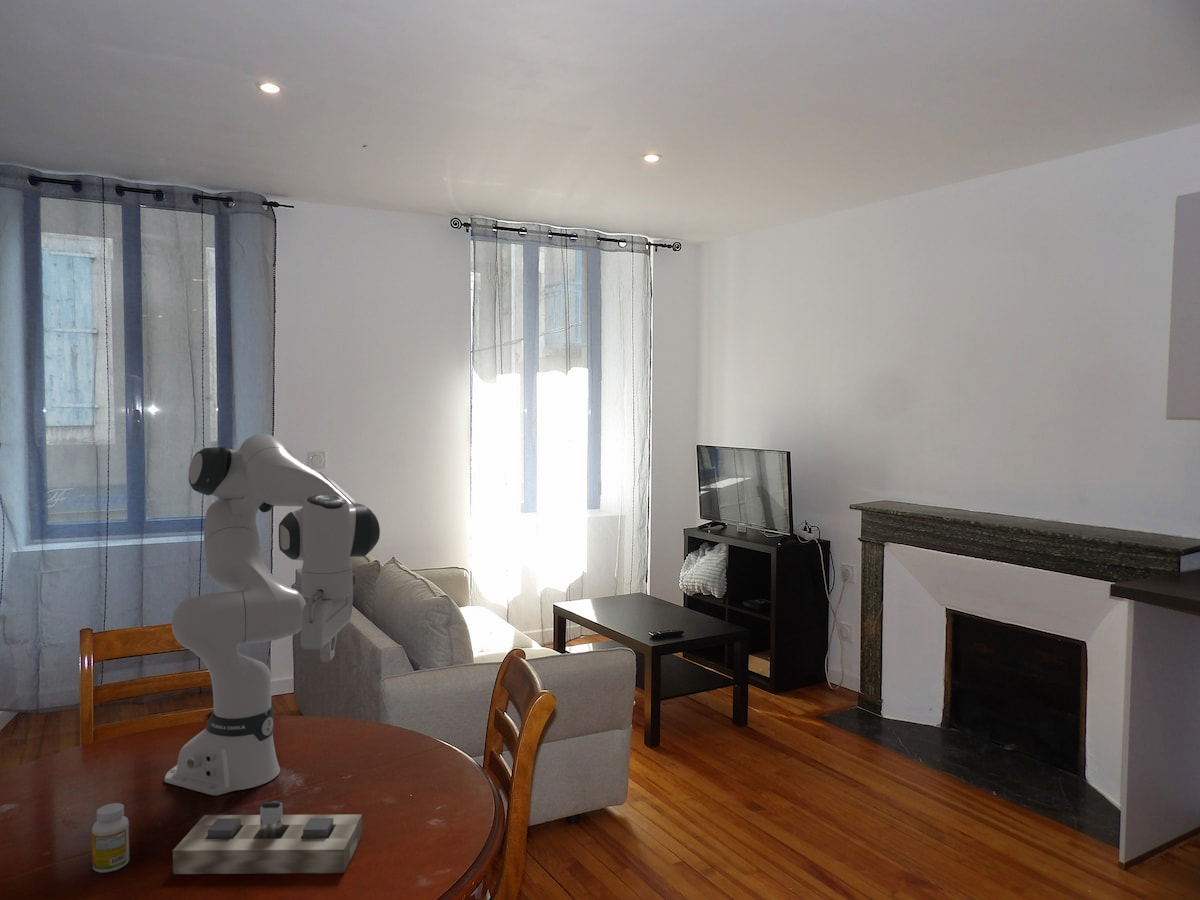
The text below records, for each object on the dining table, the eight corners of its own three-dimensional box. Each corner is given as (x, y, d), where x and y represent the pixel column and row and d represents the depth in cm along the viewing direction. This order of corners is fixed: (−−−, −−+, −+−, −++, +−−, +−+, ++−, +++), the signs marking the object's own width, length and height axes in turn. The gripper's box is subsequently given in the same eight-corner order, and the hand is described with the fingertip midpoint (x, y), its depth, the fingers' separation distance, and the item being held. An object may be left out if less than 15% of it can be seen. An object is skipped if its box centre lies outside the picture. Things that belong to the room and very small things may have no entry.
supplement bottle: (102, 856, 144) (101, 801, 144) (135, 855, 145) (134, 800, 144) (86, 874, 139) (85, 816, 138) (120, 873, 139) (119, 815, 139)
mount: (173, 874, 139) (172, 850, 139) (204, 836, 151) (204, 815, 151) (344, 872, 140) (344, 849, 140) (362, 836, 152) (362, 814, 152)
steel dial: (257, 839, 144) (256, 807, 143) (264, 829, 147) (264, 798, 147) (278, 839, 144) (278, 807, 144) (285, 829, 147) (285, 797, 147)
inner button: (208, 858, 143) (207, 830, 143) (217, 846, 147) (217, 818, 147) (231, 858, 144) (231, 830, 143) (241, 846, 148) (240, 818, 147)
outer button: (303, 858, 144) (303, 829, 144) (310, 845, 148) (310, 818, 148) (326, 858, 144) (326, 829, 144) (333, 845, 148) (333, 818, 148)
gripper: (328, 597, 143) (328, 677, 144) (358, 573, 164) (358, 644, 164) (290, 597, 143) (291, 677, 144) (325, 573, 164) (325, 644, 164)
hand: (327, 659), depth 154 cm, fingers closed
